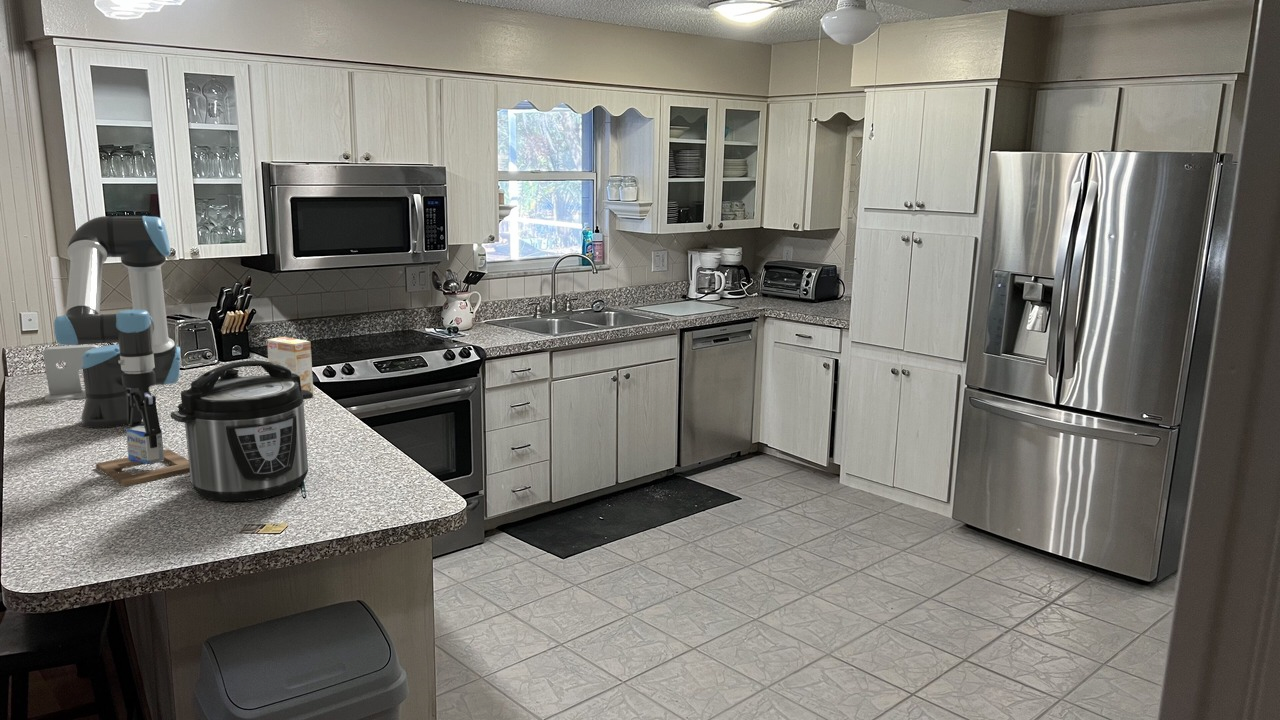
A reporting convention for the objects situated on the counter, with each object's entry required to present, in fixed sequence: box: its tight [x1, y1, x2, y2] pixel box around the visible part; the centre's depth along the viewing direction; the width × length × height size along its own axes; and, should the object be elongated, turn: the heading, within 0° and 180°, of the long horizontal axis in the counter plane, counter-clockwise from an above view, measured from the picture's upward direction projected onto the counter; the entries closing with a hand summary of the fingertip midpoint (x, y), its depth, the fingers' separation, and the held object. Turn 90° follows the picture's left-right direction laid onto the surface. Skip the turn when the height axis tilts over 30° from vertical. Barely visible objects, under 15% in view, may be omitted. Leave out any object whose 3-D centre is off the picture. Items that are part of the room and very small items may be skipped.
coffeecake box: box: [266, 336, 315, 397], centre depth 314 cm, size 15×7×20 cm, turn 58°
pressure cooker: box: [170, 360, 314, 502], centre depth 222 cm, size 30×28×32 cm
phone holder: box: [42, 344, 99, 402], centre depth 308 cm, size 17×10×18 cm, turn 118°
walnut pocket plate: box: [95, 448, 190, 487], centre depth 237 cm, size 20×18×1 cm
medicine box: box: [125, 425, 164, 465], centre depth 236 cm, size 8×4×9 cm, turn 68°
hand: (146, 455), depth 236 cm, fingers closed on medicine box, 9 cm apart
